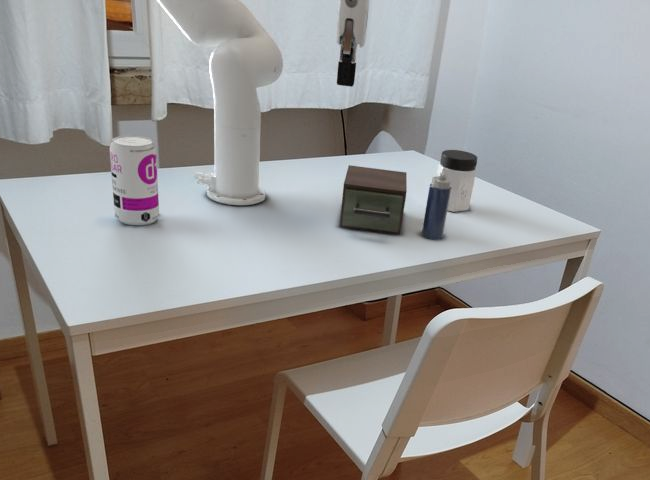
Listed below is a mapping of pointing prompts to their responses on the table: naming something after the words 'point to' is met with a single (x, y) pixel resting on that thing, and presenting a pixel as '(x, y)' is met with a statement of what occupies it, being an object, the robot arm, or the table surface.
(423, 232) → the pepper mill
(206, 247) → the table surface
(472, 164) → the jar
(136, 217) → the supplement can
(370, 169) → the cabinet
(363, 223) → the drawer
